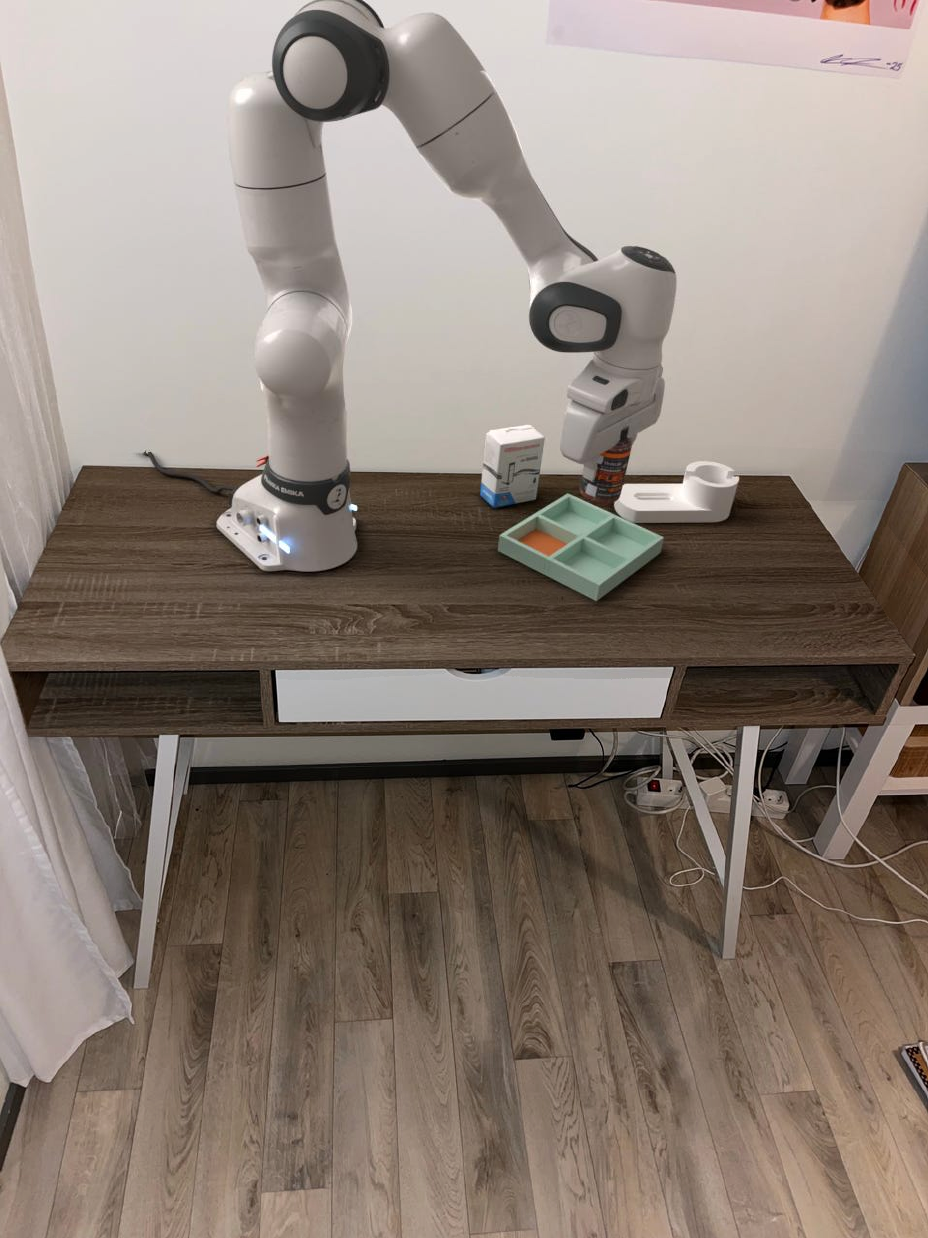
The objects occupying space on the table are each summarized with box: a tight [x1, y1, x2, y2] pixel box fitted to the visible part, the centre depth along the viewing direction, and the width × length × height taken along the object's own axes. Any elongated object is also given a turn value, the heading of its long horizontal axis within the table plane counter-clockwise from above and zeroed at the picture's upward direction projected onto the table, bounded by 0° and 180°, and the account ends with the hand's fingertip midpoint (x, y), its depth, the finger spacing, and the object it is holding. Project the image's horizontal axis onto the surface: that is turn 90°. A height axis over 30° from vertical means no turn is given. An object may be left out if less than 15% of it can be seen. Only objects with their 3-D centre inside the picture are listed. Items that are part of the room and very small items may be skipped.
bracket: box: [613, 460, 740, 524], centre depth 168 cm, size 20×9×7 cm, turn 98°
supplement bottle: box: [579, 426, 633, 505], centre depth 140 cm, size 6×6×11 cm
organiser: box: [497, 493, 665, 602], centre depth 156 cm, size 18×18×3 cm
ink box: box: [479, 424, 546, 509], centre depth 166 cm, size 9×5×12 cm, turn 118°
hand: (604, 469), depth 141 cm, fingers closed on supplement bottle, 6 cm apart
